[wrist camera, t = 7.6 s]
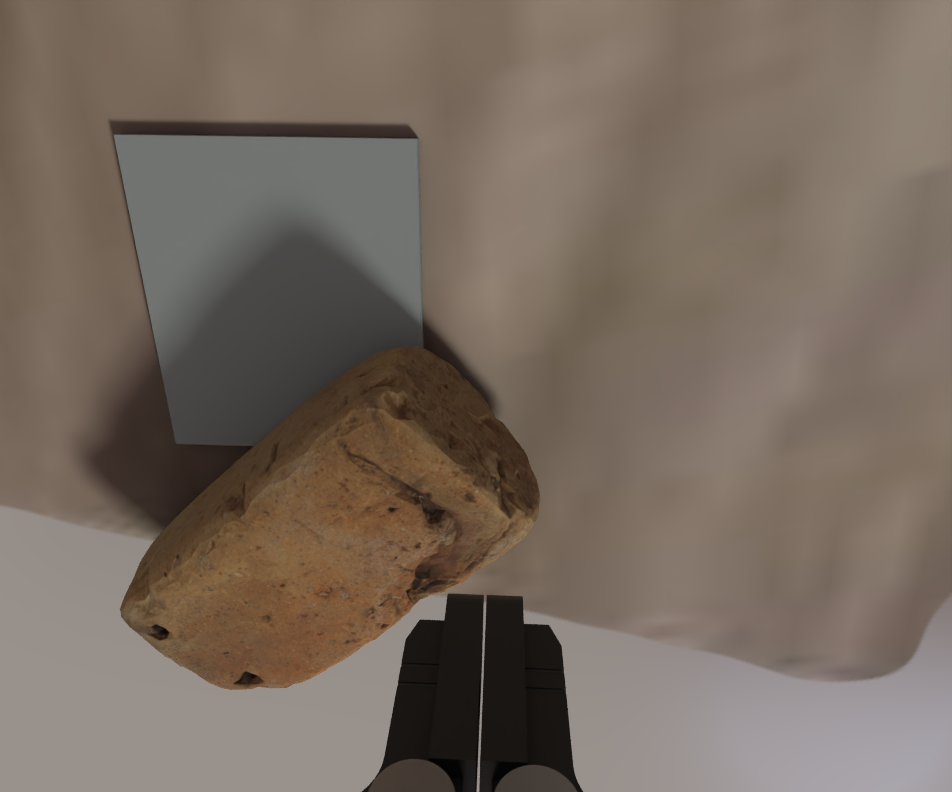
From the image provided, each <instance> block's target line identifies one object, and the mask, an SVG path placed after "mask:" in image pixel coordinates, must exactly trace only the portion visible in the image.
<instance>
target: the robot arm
mask: <svg viewBox="0 0 952 792" xmlns="http://www.w3.org/2000/svg"><path fill="white" fill-rule="evenodd" d="M483 604H484V595H471V594H448V596H447V605H446V613H445V621H440V620H439V621H438V620H419V622H418V623H417V625H416V626H415V627H414V629H413V630H412V632H411V633H410V634H409V636H408V637H407V639H406V641H405V647H404V652H403V658H402V666H401V669H400V674H399V680H398V686H397V691H396V696H395V702H394V707H393V713H392V718H391V724H390V729H389V735H388V740H387V746H386V751H385V757H384V760H383V764H382V767H381V769H380V771H379V773H378V774H377V776H376V777H375V779H374V780H373V781H372V782H371V784H370V785H369V786H368V787H367V788H366V789H364V790H363V791H362V792H476V789H477V766H478V742H479V719H480V696H481V673H482V640H483ZM479 792H583V791H582V789H581V788H580V786H579V784H578V782H577V779H576V777H575V773H574V768H573V760H572V749H571V740H570V728H569V718H568V708H567V698H566V687H565V677H564V667H563V657H562V647H561V644H560V643H559V641H558V640H557V638H556V636H555V634H554V633H553V631H552V629H551V628H550V627H549V625H537V624H524V620H523V597H522V596H499V595H487V604H486V630H485V656H484V680H483V706H482V732H481V756H480V791H479Z"/></svg>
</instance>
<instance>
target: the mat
mask: <svg viewBox="0 0 952 792" xmlns="http://www.w3.org/2000/svg"><path fill="white" fill-rule="evenodd" d="M114 139H115V144H116V149H117V154H118V159H119V164H120V169H121V174H122V179H123V184H124V189H125V194H126V199H127V204H128V209H129V214H130V219H131V224H132V229H133V234H134V239H135V244H136V249H137V254H138V259H139V264H140V269H141V274H142V279H143V284H144V289H145V294H146V299H147V304H148V309H149V314H150V319H151V324H152V329H153V334H154V338H155V343H156V348H157V353H158V358H159V363H160V368H161V373H162V378H163V383H164V388H165V393H166V398H167V403H168V408H169V413H170V418H171V423H172V428H173V433H174V438H175V443H176V444H193V445H227V446H255V445H256V444H257V443H258V442H259V441H260V440H261V439H263V438H264V437H265V436H266V435H267V434H268V433H269V432H271V431H272V430H273V429H274V428H275V427H277V426H278V425H279V424H280V423H281V422H282V421H283V420H284V419H285V418H286V417H288V416H289V415H290V414H291V413H292V412H293V411H294V410H295V409H296V408H298V407H299V406H300V405H301V404H303V403H304V402H305V401H307V400H308V399H309V398H310V397H312V396H313V395H314V394H316V393H317V392H318V391H320V390H321V389H323V388H324V387H325V386H327V385H328V384H330V383H331V382H333V381H334V380H335V379H337V378H338V377H339V376H341V375H342V374H343V373H345V372H346V371H348V370H349V369H351V368H353V367H355V366H356V365H358V364H359V363H361V362H362V361H364V360H366V359H368V358H370V357H371V356H373V355H374V354H376V353H378V352H380V351H382V350H384V349H386V348H387V349H393V348H398V347H403V346H407V347H416V346H419V347H421V348H423V308H422V265H421V222H420V179H419V138H368V137H297V136H227V135H156V134H116V135H114Z"/></svg>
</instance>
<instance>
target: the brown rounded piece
mask: <svg viewBox="0 0 952 792" xmlns="http://www.w3.org/2000/svg"><path fill="white" fill-rule="evenodd" d="M539 504H540V492H539V488H538V484H537V480H536V478H535V475H534V473H533V471H532V469H531V467H530V464H529V461H528V458H527V455H526V453H525V452H524V450H523V449H522V447H521V446H520V445H519V444H518V442H517V441H516V440H515V438H514V437H513V436H512V434H511V433H510V432H509V430H508V429H507V428H506V426H505V425H504V424H503V423H502V422H501V421H499V420H498V419H496V418H495V417H494V415H493V413H492V412H491V410H490V407H489V405H488V403H487V402H486V401H485V399H484V398H483V397H482V396H481V394H480V393H479V392H478V391H477V390H476V389H474V388H473V386H472V385H471V384H470V383H469V382H468V381H467V380H466V379H465V378H464V377H463V376H462V375H461V374H460V373H459V372H458V371H457V370H456V369H455V368H454V367H453V366H452V365H451V364H449V363H448V362H446V361H444V360H442V359H441V358H439V357H437V356H436V355H435V354H433V353H432V352H431V351H428V350H426V349H423V348H421V347H419V346H416V347H407V346H403V347H398V348H393V349H387V348H386V349H384V350H382V351H380V352H378V353H376V354H374V355H373V356H371V357H370V358H368V359H366V360H364V361H362V362H361V363H359V364H358V365H356V366H355V367H353V368H351V369H349V370H348V371H346V372H345V373H343V374H342V375H341V376H339V377H338V378H337V379H335V380H334V381H333V382H331V383H330V384H328V385H327V386H325V387H324V388H323V389H321V390H320V391H318V392H317V393H316V394H314V395H313V396H312V397H310V398H309V399H308V400H307V401H305V402H304V403H303V404H301V405H300V406H299V407H298V408H296V409H295V410H294V411H293V412H292V413H291V414H290V415H289V416H288V417H286V418H285V419H284V420H283V421H282V422H281V423H280V424H279V425H278V426H277V427H275V428H274V429H273V430H272V431H271V432H269V433H268V434H267V435H266V436H265V437H264V438H263V439H261V440H260V441H259V442H258V443H257V444H256V445H255V446H253V447H252V448H251V449H250V450H249V451H248V452H246V453H245V454H244V455H243V456H242V457H241V458H239V459H238V460H237V461H236V462H235V463H234V464H233V465H232V466H231V467H230V468H229V469H228V470H226V471H225V472H224V473H223V474H222V475H221V476H220V477H218V478H217V479H216V480H215V481H214V482H213V483H211V484H210V485H209V486H208V487H207V488H206V489H205V490H204V491H203V492H202V493H201V494H200V495H199V496H197V497H196V498H195V499H194V500H193V501H192V502H191V503H190V504H189V505H188V506H187V507H186V508H185V509H184V510H183V511H182V512H181V513H180V514H179V515H178V516H177V517H176V518H175V519H174V520H173V521H172V522H171V523H170V524H169V525H168V526H167V527H166V528H165V529H164V530H163V531H162V533H161V534H160V535H159V536H158V537H157V539H156V540H155V541H154V542H153V543H152V545H151V546H150V548H149V549H148V551H147V552H146V554H145V555H144V557H143V558H142V560H141V562H140V564H139V566H138V569H137V571H136V574H135V576H134V578H133V580H132V583H131V584H130V586H129V588H128V591H127V593H126V595H125V597H124V600H123V603H122V605H121V609H120V611H121V617H122V618H123V619H124V621H125V622H126V623H127V624H128V625H129V627H131V628H132V629H133V630H134V631H136V632H137V633H138V634H139V635H140V636H142V637H143V638H144V639H145V640H146V641H148V642H149V643H150V644H151V645H152V646H153V647H154V648H155V649H157V650H158V651H159V652H160V653H162V654H163V655H164V656H166V657H168V658H170V659H172V660H173V661H175V662H176V663H177V664H178V665H179V666H183V667H185V668H187V669H189V670H191V671H192V672H194V673H196V674H197V675H198V676H200V677H201V678H203V679H204V680H206V681H208V682H209V683H211V684H214V685H216V686H218V687H220V688H225V689H231V690H232V689H253V688H256V687H267V688H287V687H289V686H291V685H292V684H295V683H300V682H303V681H306V680H308V679H310V678H312V677H314V676H315V675H317V674H319V673H321V672H323V671H325V670H326V669H327V668H329V667H331V666H333V665H335V664H337V663H339V662H340V661H342V660H344V659H345V658H347V657H349V656H350V655H351V654H353V653H354V652H356V651H357V650H358V649H360V648H361V647H362V646H363V645H365V644H366V643H368V642H370V641H372V640H375V639H376V638H377V637H379V636H380V635H381V634H382V633H383V632H384V631H386V630H387V629H389V628H390V627H392V626H393V625H394V624H395V623H396V622H398V621H399V620H400V619H401V618H402V617H403V616H405V615H406V614H407V613H408V612H409V611H410V610H411V608H412V607H413V606H414V605H415V604H416V603H417V602H418V601H419V600H420V599H423V598H425V597H428V596H429V595H431V594H434V595H435V594H438V593H441V592H444V591H446V590H448V589H450V588H452V587H454V586H456V585H458V584H460V583H462V582H463V581H464V580H466V579H467V578H468V577H469V576H470V575H471V574H472V573H473V572H474V571H476V570H478V569H480V568H483V567H485V566H488V565H489V564H490V563H492V562H493V561H495V560H496V559H497V558H499V557H500V556H502V555H503V554H504V553H506V552H507V551H508V550H510V549H511V548H512V547H514V546H515V545H516V544H517V543H518V542H519V541H520V540H522V539H523V538H524V537H525V536H526V535H527V534H528V532H529V531H530V530H531V528H532V526H533V525H534V523H535V521H536V519H537V517H538V511H539Z"/></svg>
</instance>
